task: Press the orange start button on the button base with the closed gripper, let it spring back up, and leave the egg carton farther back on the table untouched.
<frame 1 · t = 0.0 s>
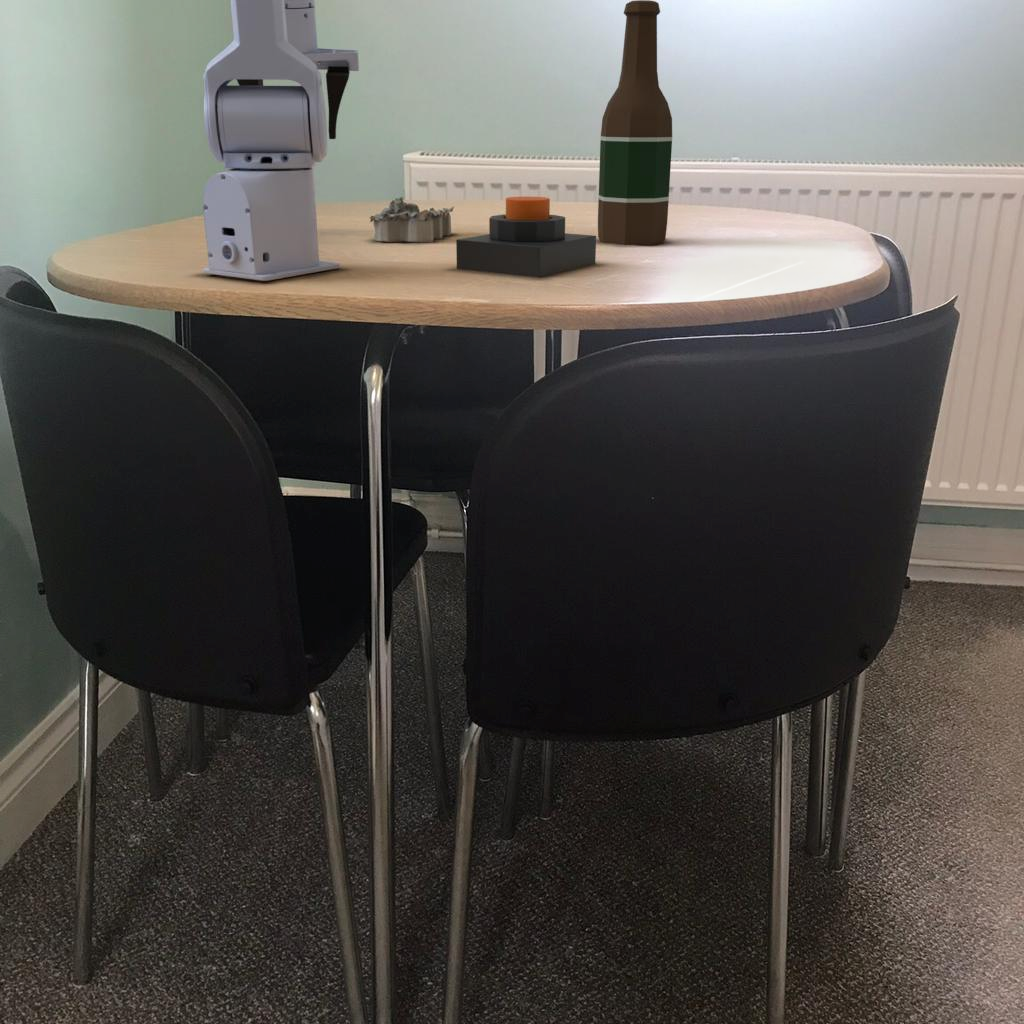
hand: (298, 137, 117), 11 cm above the table, tool pointing down, fingers open, 7 cm apart
button base: (527, 267, 95), on the table
egg carton: (414, 239, 116), on the table
beer bottle: (631, 243, 113), on the table
switch: (527, 210, 93), point 5 cm above the table, slide at 0.1 cm
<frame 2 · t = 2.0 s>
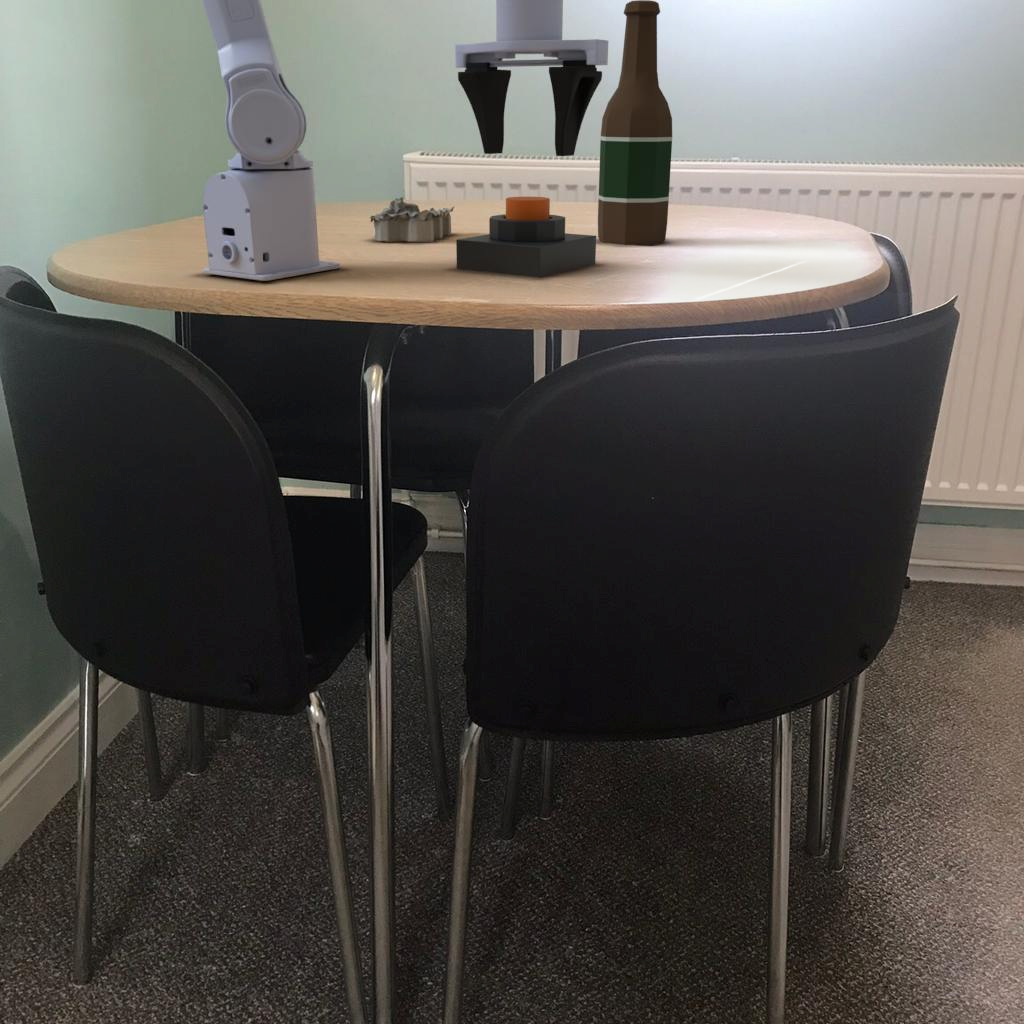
hand: (528, 154, 91), 10 cm above the table, tool pointing down, fingers open, 7 cm apart
nothing on the table moved.
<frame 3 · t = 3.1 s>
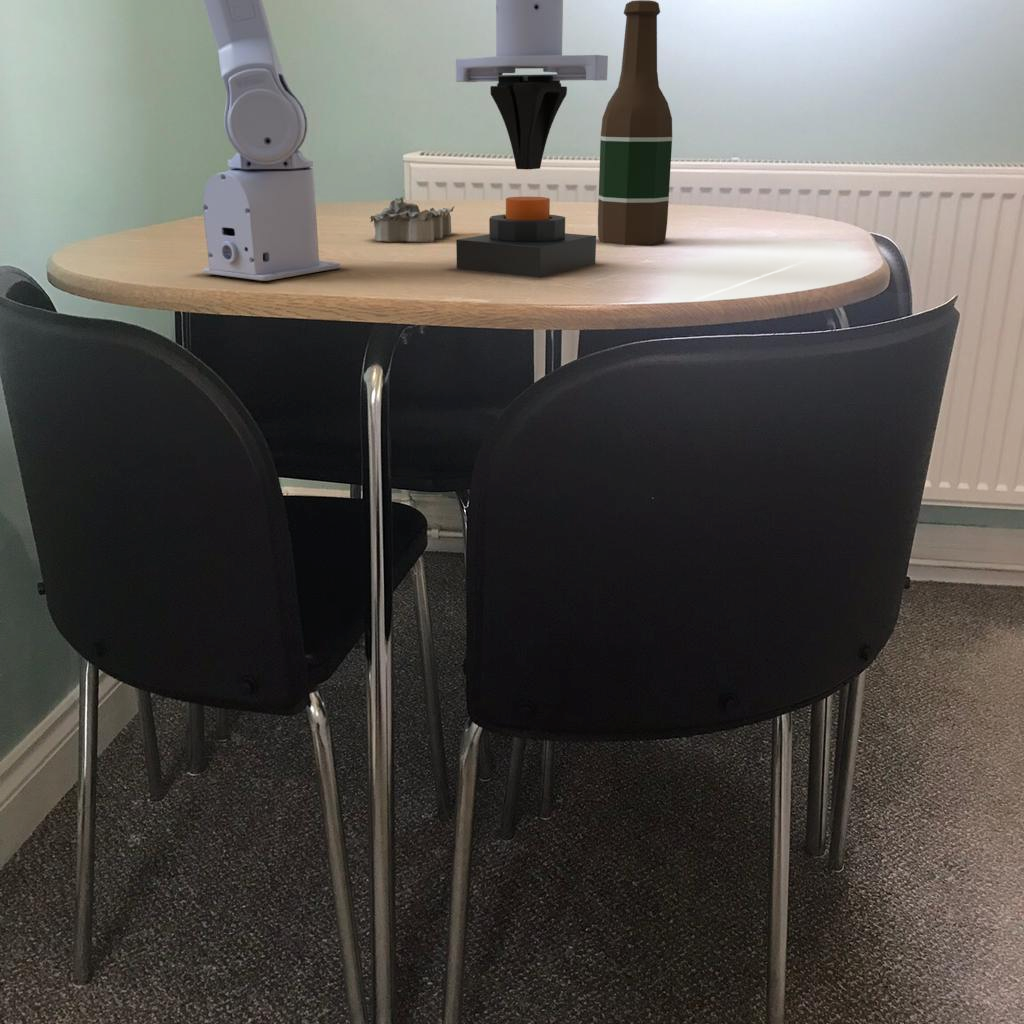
hand: (528, 169, 91), 9 cm above the table, tool pointing down, fingers closed
nothing on the table moved.
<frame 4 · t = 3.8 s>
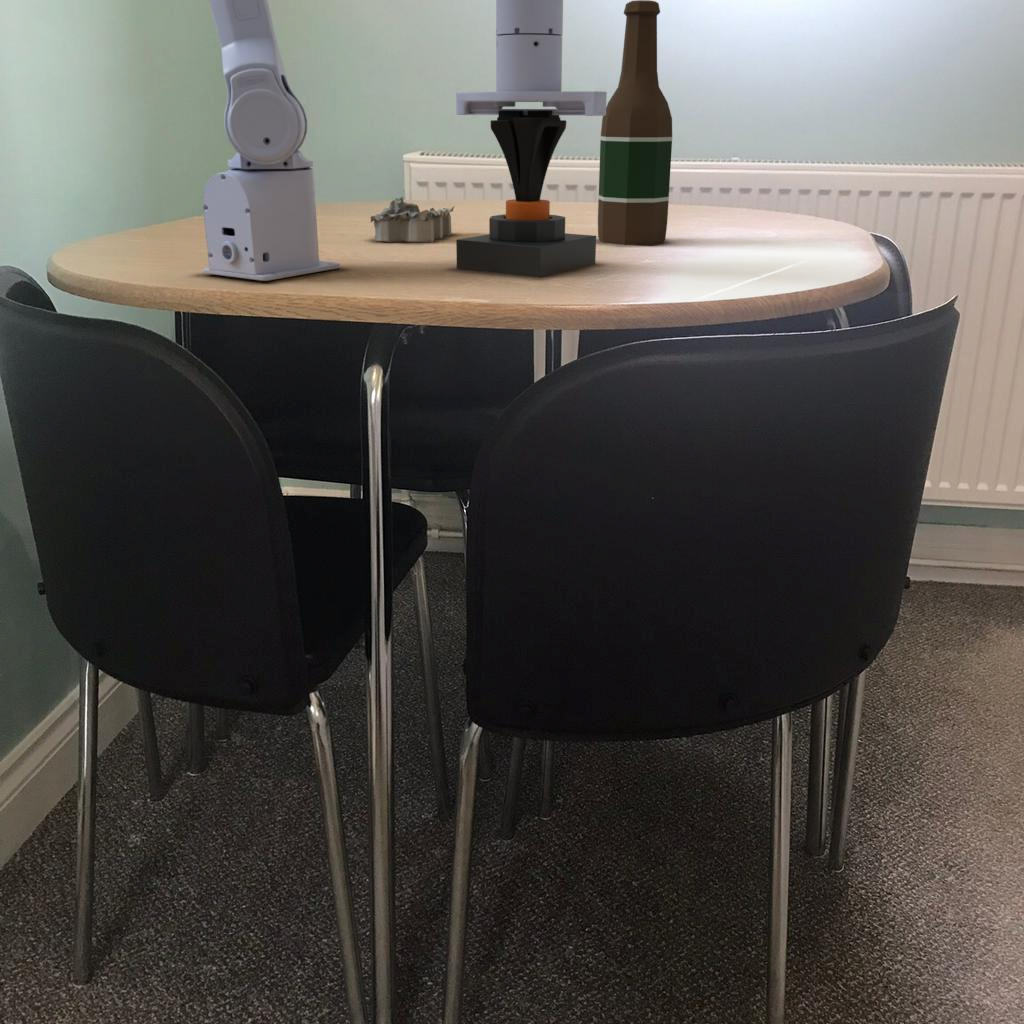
hand: (528, 201, 92), 6 cm above the table, tool pointing down, fingers closed, pressing on switch
switch: (527, 212, 93), point 5 cm above the table, slide at -0.1 cm, touching gripper
everything else where it was.
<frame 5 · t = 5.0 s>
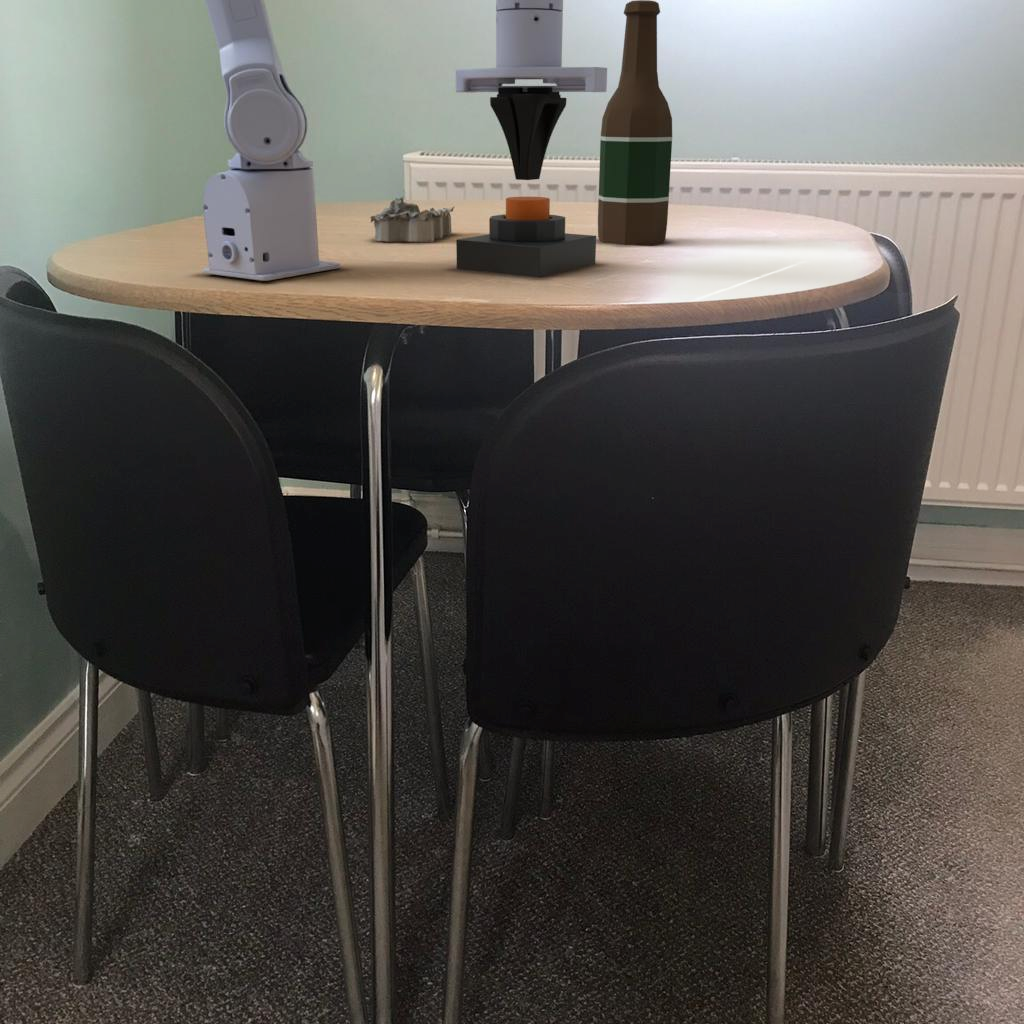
hand: (527, 179, 92), 8 cm above the table, tool pointing down, fingers closed
switch: (527, 210, 93), point 5 cm above the table, slide at 0.1 cm
everything else where it was.
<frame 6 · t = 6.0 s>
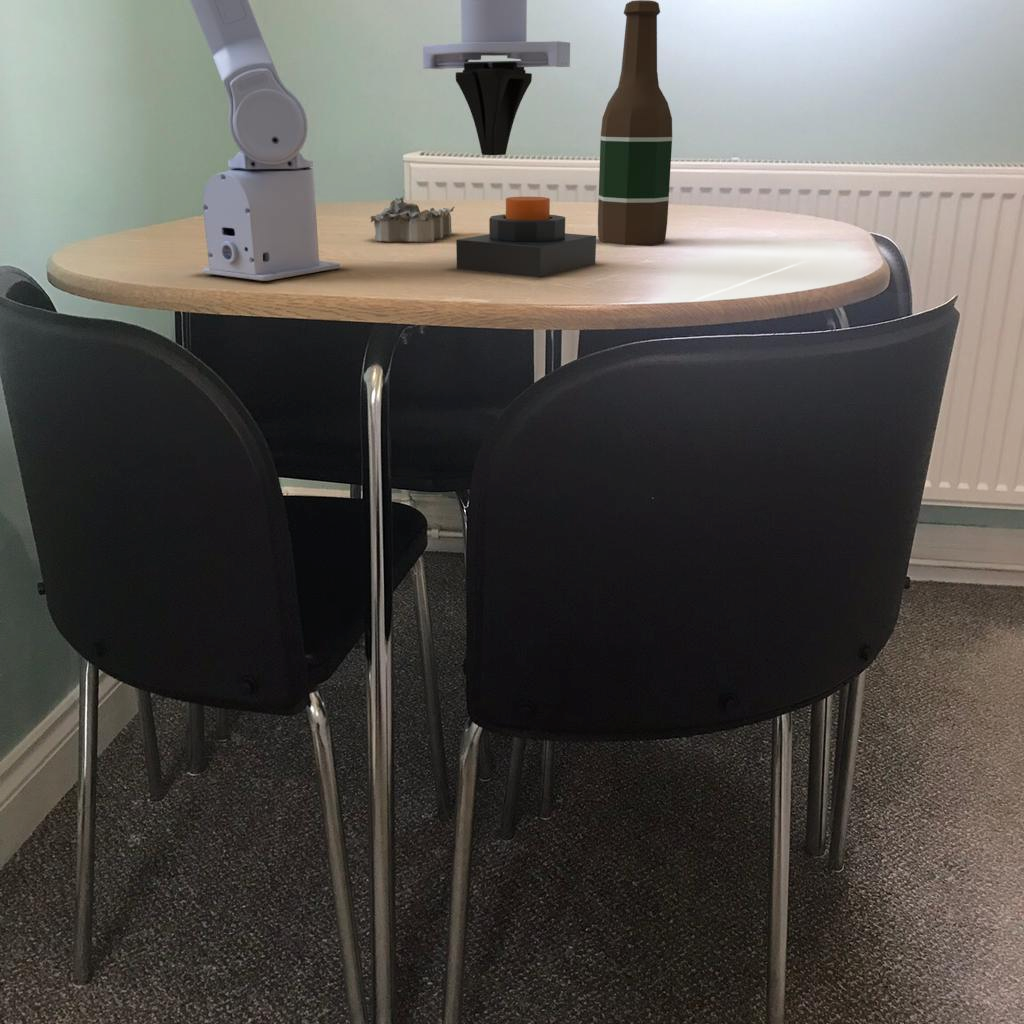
hand: (493, 155, 92), 10 cm above the table, tool pointing down, fingers closed
nothing on the table moved.
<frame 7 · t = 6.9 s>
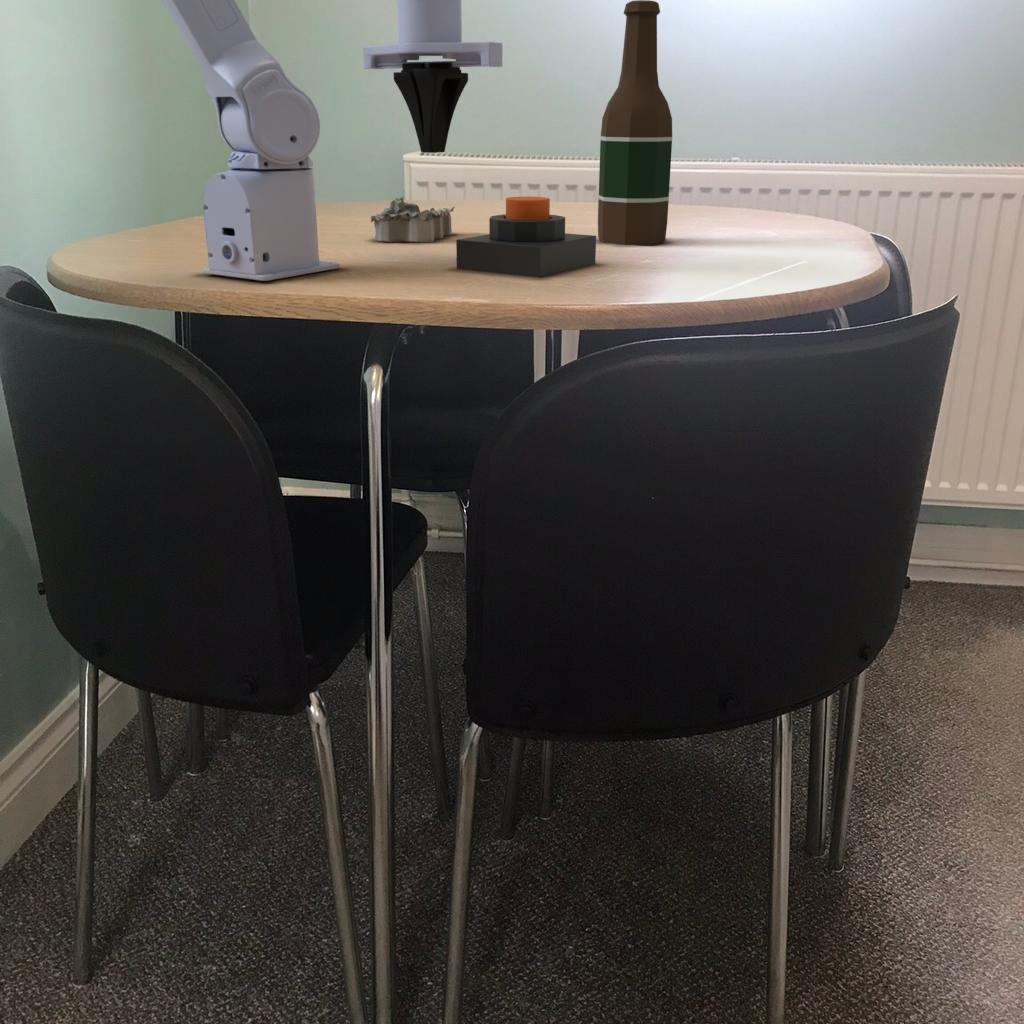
hand: (432, 152, 95), 10 cm above the table, tool pointing down, fingers closed
nothing on the table moved.
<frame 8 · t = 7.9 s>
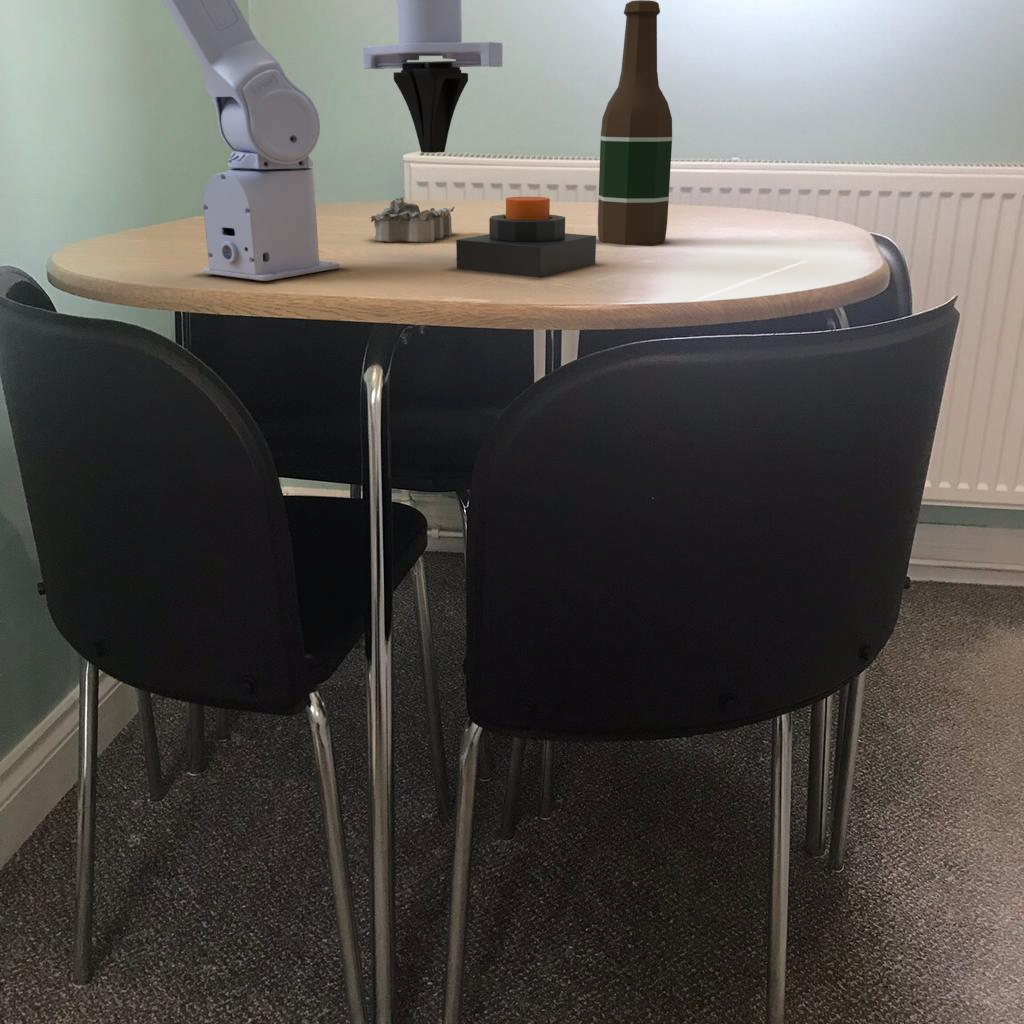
hand: (432, 152, 95), 10 cm above the table, tool pointing down, fingers closed
nothing on the table moved.
at the end: switch pushed in 1.3 cm at the most during the clip, back to where it started at the end; switch slide at 0.1 cm; egg carton moved 0.2 cm from its start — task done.
